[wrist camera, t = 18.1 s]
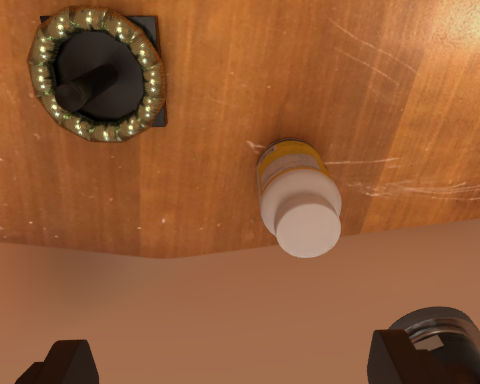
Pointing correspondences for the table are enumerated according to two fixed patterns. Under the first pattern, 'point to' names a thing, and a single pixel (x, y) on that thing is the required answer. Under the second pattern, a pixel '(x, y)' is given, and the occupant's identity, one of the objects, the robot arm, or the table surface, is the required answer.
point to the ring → (125, 33)
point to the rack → (103, 74)
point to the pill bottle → (298, 198)
